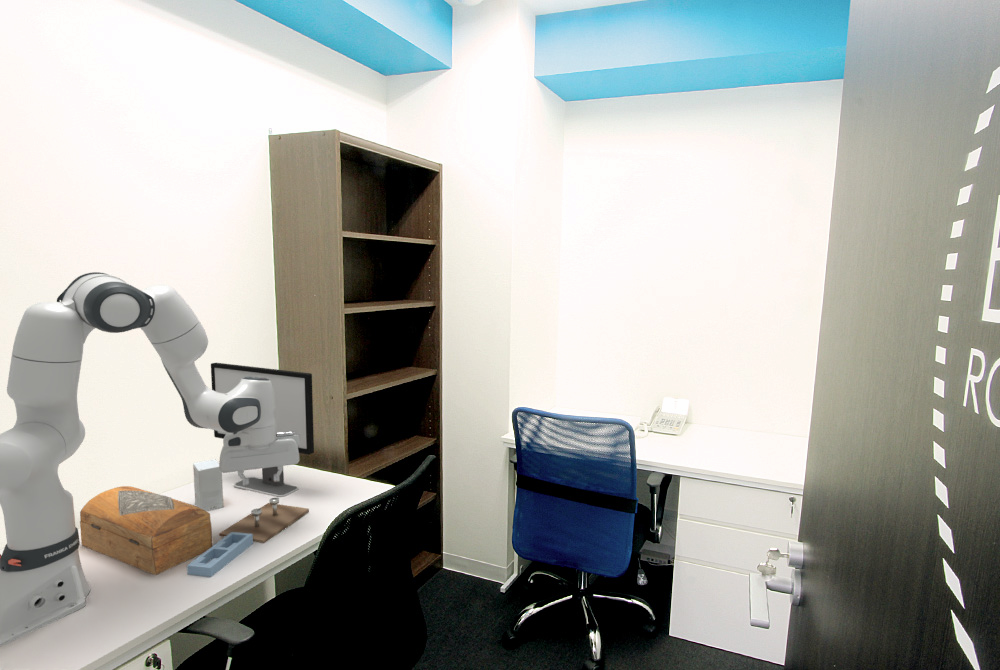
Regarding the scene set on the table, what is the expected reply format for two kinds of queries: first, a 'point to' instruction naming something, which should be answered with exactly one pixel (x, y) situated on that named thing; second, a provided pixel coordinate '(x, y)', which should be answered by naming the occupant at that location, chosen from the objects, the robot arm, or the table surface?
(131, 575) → the table surface
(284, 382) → the computer monitor
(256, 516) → the steel bosses
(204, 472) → the small box
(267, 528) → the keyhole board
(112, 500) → the wooden box
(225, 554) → the blue compartment tray
